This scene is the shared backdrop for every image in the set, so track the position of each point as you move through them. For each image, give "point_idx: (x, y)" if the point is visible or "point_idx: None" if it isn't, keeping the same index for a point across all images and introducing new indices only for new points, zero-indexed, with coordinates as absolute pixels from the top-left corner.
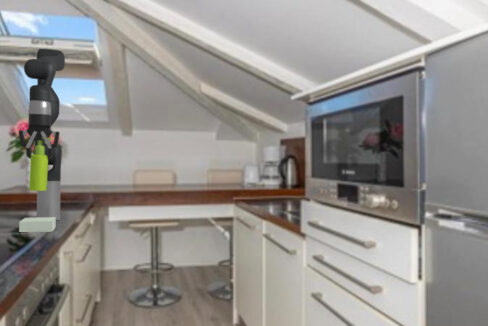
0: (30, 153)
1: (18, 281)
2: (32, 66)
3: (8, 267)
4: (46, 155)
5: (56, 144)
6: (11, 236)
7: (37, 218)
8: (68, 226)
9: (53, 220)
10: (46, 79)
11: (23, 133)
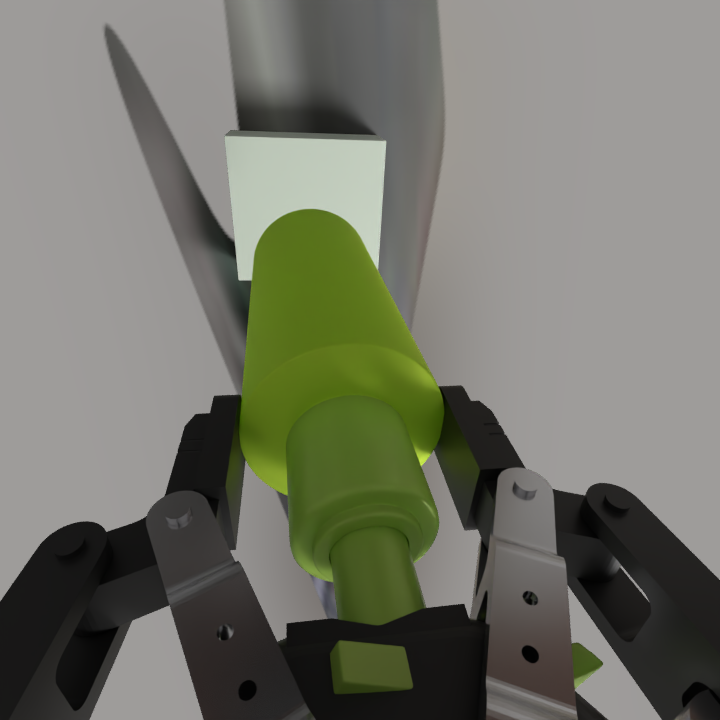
0: (240, 484)
1: None
2: None
3: (326, 600)
4: (426, 442)
5: (609, 584)
6: (237, 332)
7: (298, 180)
8: (437, 119)
9: (379, 229)
10: None
11: None
